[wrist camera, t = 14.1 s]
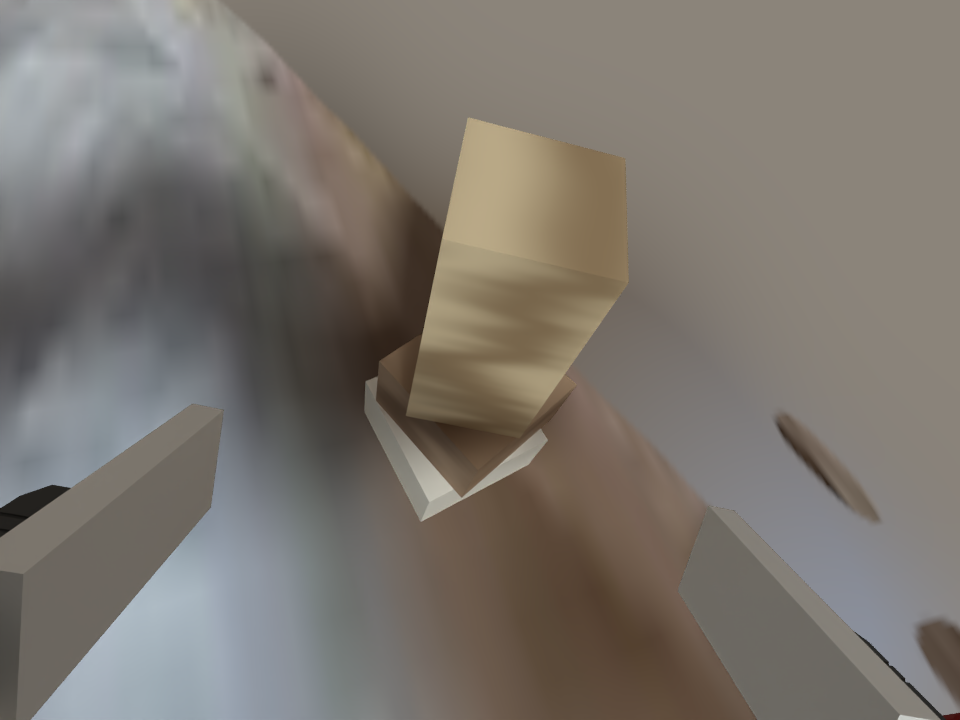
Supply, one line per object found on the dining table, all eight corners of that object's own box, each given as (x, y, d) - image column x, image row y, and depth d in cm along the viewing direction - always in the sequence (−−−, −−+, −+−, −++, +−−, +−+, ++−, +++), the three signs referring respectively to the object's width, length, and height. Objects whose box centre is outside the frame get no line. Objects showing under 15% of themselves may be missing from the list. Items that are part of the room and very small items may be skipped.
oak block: (405, 415, 23) (442, 238, 14) (426, 320, 26) (468, 117, 16) (519, 438, 24) (628, 282, 14) (528, 342, 26) (625, 158, 17)
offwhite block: (364, 413, 31) (365, 381, 28) (468, 369, 34) (480, 335, 31) (420, 522, 29) (429, 502, 26) (527, 465, 32) (547, 440, 28)
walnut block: (375, 400, 28) (379, 360, 24) (468, 335, 31) (483, 293, 27) (461, 497, 26) (478, 470, 23) (550, 419, 29) (576, 385, 26)
